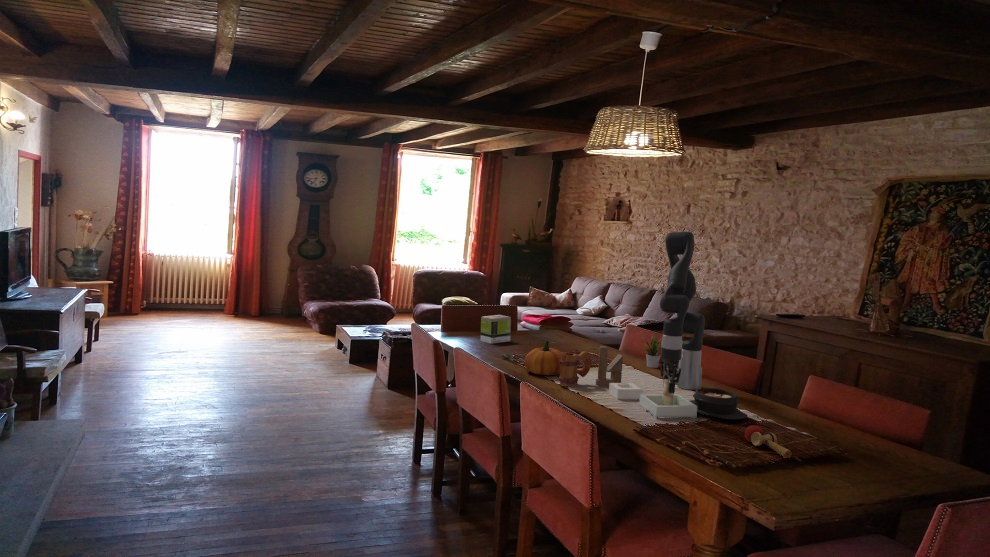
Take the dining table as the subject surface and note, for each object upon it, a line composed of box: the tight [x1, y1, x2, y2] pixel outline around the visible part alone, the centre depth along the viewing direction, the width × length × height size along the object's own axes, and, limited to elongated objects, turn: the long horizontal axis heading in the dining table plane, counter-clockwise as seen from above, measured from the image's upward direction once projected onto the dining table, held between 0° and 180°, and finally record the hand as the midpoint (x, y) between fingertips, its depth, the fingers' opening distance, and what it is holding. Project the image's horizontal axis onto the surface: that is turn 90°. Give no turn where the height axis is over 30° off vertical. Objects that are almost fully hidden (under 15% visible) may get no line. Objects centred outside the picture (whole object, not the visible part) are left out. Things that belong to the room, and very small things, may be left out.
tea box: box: [480, 314, 512, 345], centre depth 375 cm, size 15×10×15 cm, turn 130°
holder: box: [608, 382, 642, 400], centre depth 264 cm, size 10×10×5 cm
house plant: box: [642, 334, 662, 369], centre depth 325 cm, size 14×14×16 cm
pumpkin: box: [524, 340, 563, 376], centre depth 302 cm, size 19×19×15 cm
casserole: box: [688, 387, 748, 421], centre depth 247 cm, size 25×19×8 cm
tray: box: [639, 394, 698, 419], centre depth 247 cm, size 16×16×4 cm
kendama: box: [744, 424, 793, 459], centre depth 210 cm, size 8×6×18 cm
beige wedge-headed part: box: [595, 345, 624, 388], centre depth 280 cm, size 4×11×18 cm, turn 111°
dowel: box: [662, 379, 675, 406], centre depth 247 cm, size 4×4×11 cm
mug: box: [557, 350, 592, 388], centre depth 280 cm, size 15×8×15 cm, turn 105°
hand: (668, 390), depth 247 cm, fingers open, 4 cm apart
